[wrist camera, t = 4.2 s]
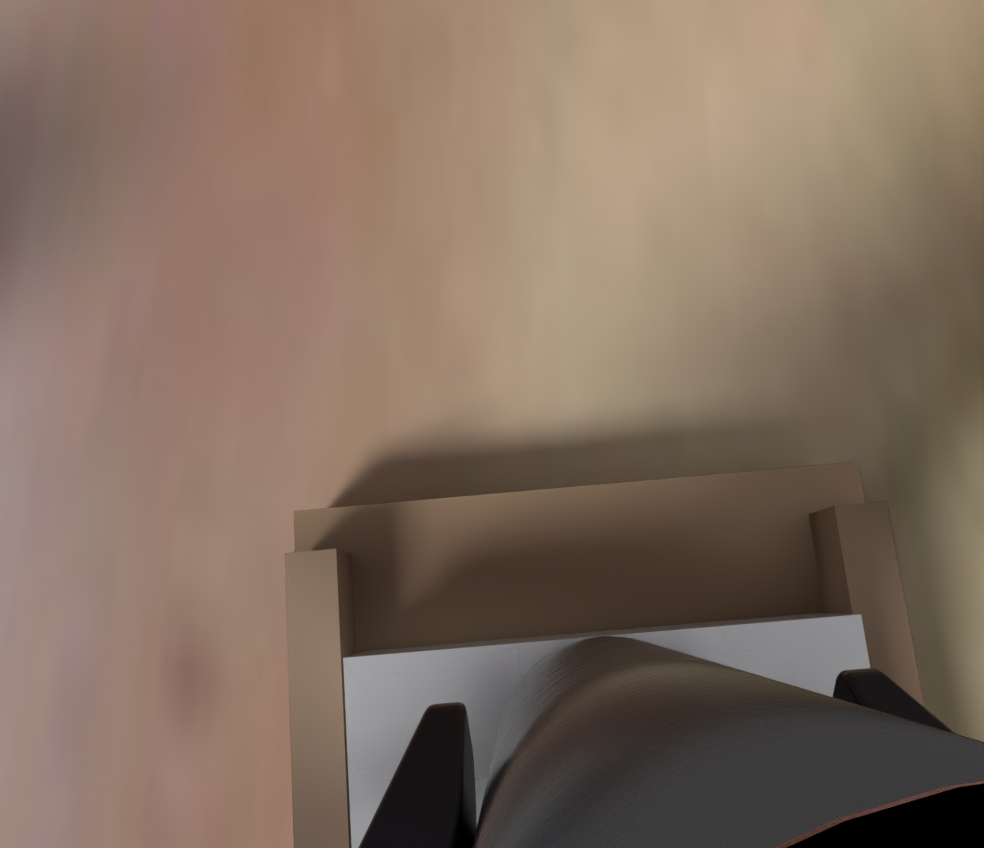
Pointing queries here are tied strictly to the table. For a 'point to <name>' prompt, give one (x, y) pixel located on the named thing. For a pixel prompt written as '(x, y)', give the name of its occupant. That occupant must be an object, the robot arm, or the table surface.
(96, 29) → the table surface
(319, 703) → the board
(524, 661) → the handle
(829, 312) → the table surface
